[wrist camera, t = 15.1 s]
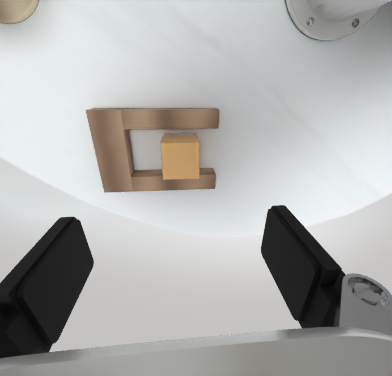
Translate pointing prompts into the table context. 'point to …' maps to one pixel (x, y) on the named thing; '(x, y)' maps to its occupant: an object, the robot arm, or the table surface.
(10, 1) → the disc
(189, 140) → the orange-brown rectangular block
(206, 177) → the notched board
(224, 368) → the robot arm
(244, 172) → the table surface
